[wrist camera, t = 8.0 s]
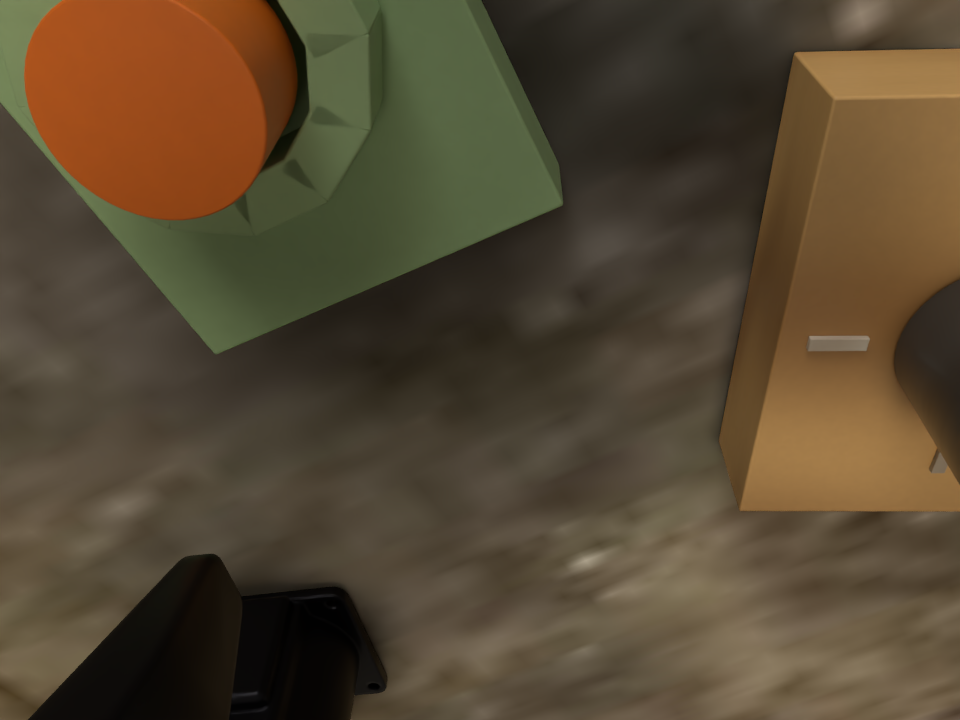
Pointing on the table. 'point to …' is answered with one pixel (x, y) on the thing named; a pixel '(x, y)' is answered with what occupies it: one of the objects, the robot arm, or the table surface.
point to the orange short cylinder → (161, 98)
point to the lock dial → (934, 370)
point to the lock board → (847, 287)
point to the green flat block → (342, 164)
